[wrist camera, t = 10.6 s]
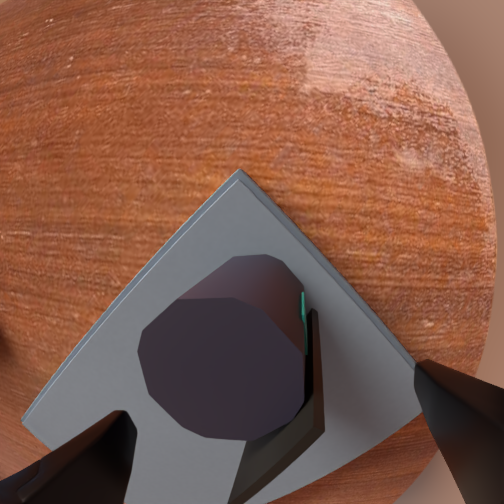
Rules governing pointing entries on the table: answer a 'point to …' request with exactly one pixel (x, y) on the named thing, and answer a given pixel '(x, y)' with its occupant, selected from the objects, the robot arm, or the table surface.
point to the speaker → (241, 366)
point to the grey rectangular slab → (220, 450)
